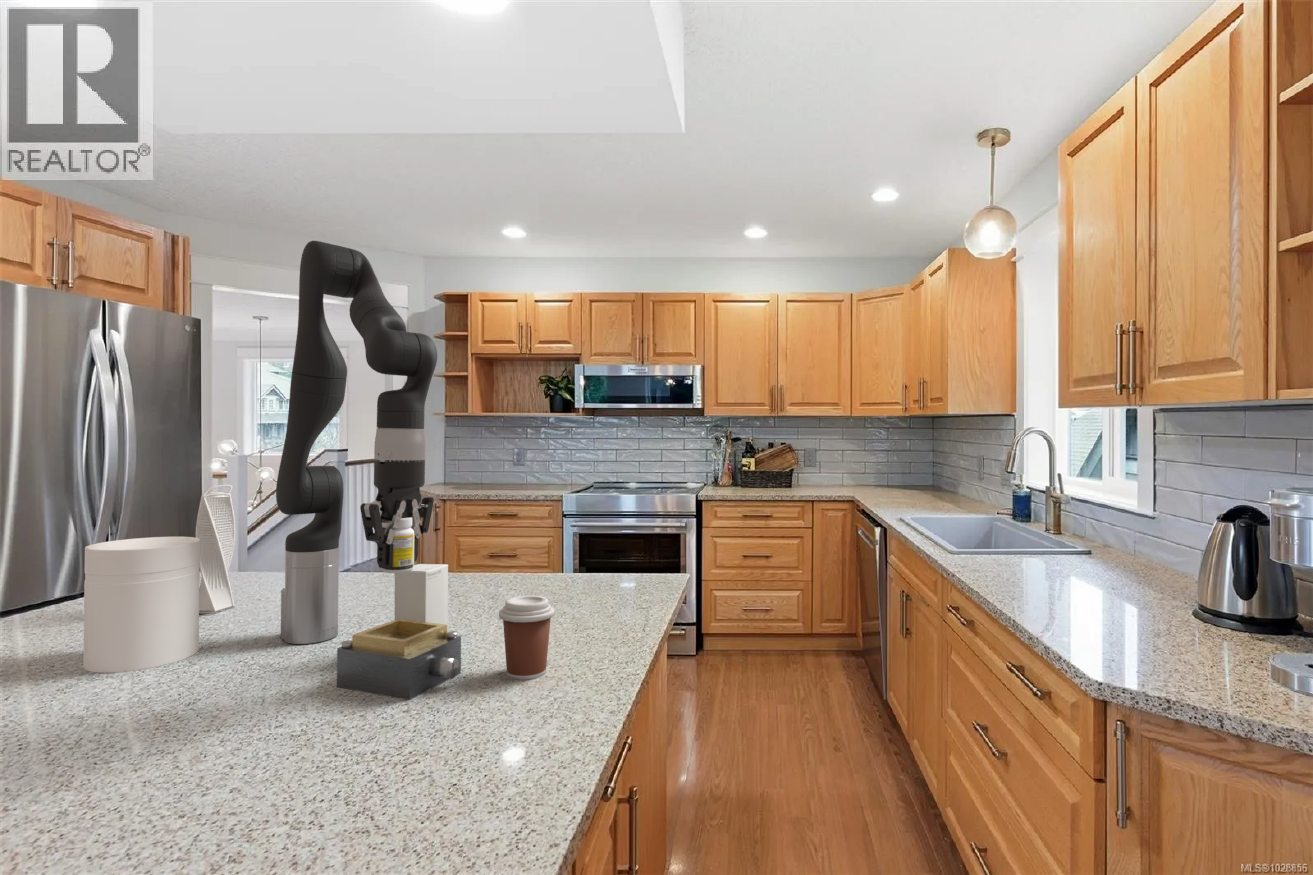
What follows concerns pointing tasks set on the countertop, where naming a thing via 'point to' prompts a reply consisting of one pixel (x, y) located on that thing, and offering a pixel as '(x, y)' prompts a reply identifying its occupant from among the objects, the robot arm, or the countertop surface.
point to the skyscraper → (215, 550)
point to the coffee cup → (526, 635)
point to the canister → (140, 603)
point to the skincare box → (422, 594)
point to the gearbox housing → (399, 658)
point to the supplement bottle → (402, 547)
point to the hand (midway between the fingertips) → (397, 564)
